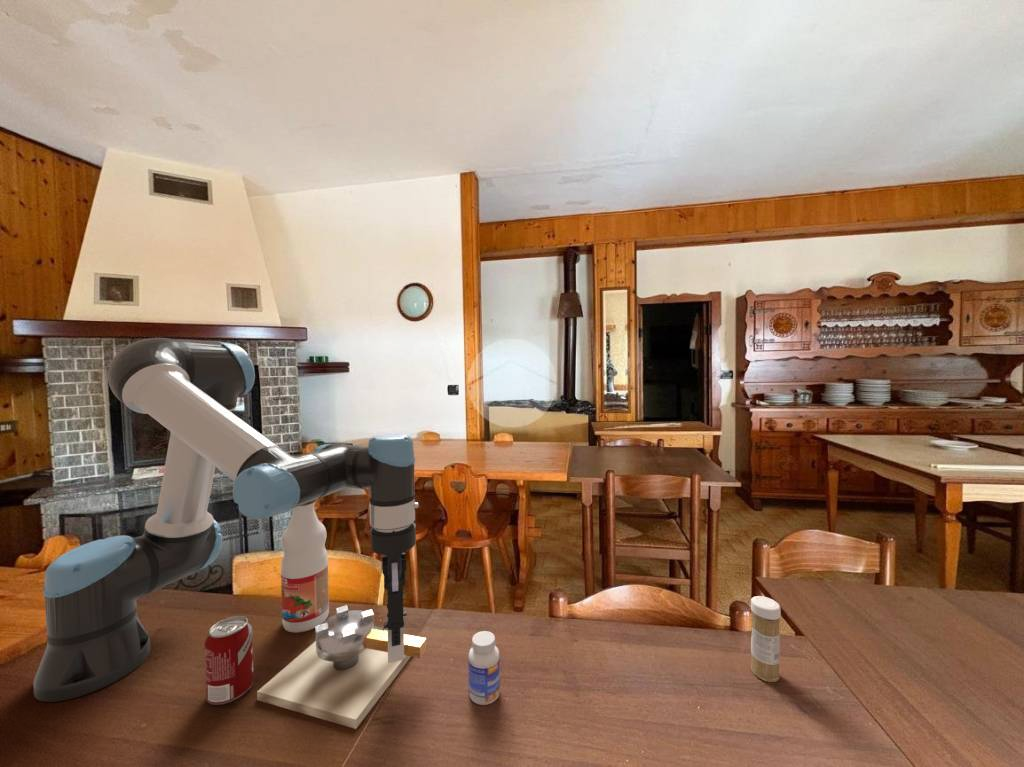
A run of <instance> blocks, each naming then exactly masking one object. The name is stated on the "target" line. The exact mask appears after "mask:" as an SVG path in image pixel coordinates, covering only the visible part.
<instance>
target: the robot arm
mask: <svg viewBox="0 0 1024 767" xmlns="http://www.w3.org/2000/svg"><path fill="white" fill-rule="evenodd" d="M255 373H256V372H255V366H254V363H253V360H251V358H250V355H249V354H248V353H247V352H246V350H245V349H244V348H242V347H240V346H239V345H238V344H235V343H230V342H224V341H223V342H222V341H218V340H202V339H201V340H199V339H197V340H196V339H182V338H179V339H177V338H170V337H169V338H168V337H167V338H166V337H151V338H144V339H140V340H136V341H134V342H131V343H130V344H128V345H125V347H123V348H122V349H121V350H119V351H118V352H117V353H116V354H115V355H114V356H113V358H112V359H111V361H110V363H109V365H108V371H107V382H108V386H109V387H110V391H112V393H113V395H114V396H115V397H116V399H118V400H119V401H120V402H121V403H122V404H123V405H124V406H125V407H127V408H128V409H129V410H131V411H133V412H136V413H138V414H143V415H144V414H145V415H147V414H148V415H149V416H150V417H151V418H153V419H154V420H155V421H157V422H158V423H159V424H160V425H162V426H163V427H164V428H166V430H168V431H169V432H170V435H169V442H168V447H167V452H166V458H165V463H164V470H163V475H162V481H161V485H160V490H159V491H160V492H159V498H158V502H157V509H156V513H155V514H152V515H151V516H150V517H149V518H147V520H146V521H145V523H144V529H143V534H142V535H141V536H138V537H135V538H133V537H132V536H130V535H113V536H108V537H106V538H104V539H101V538H99V539H96V540H93V541H90V542H87V543H84V544H82V545H79V546H77V547H75V548H72V549H70V550H67V552H65V553H62V554H61V555H59V556H58V557H56V558H55V559H54V560H53V561H52V562H51V563H50V564H48V566H47V568H46V570H45V572H44V586H43V590H42V594H43V596H44V605H45V607H44V608H45V625H46V644H47V645H46V648H45V650H44V653H43V656H42V657H41V658H42V659H41V661H40V664H39V666H38V668H37V671H36V673H35V676H34V678H33V683H32V685H33V696H34V699H36V700H37V701H39V702H43V703H44V702H46V703H53V702H54V703H56V702H64V701H68V700H71V699H76V698H79V697H82V696H85V695H88V694H91V693H93V692H96V691H98V690H101V689H102V688H105V687H107V686H109V685H111V684H114V683H115V682H117V681H119V680H120V679H123V678H124V677H126V676H127V675H129V674H130V673H132V672H133V671H135V670H136V669H137V668H139V666H140V665H142V664H143V663H144V662H145V661H146V659H147V658H148V657H149V655H150V653H151V639H150V636H149V635H148V632H147V631H146V629H145V627H144V625H143V623H142V622H141V620H140V619H139V616H138V612H137V611H138V610H137V607H138V606H137V600H138V599H139V598H141V597H144V596H146V595H149V594H150V593H153V592H155V591H157V590H160V589H161V588H164V587H166V586H168V585H170V584H173V583H175V582H177V581H180V580H182V579H184V578H187V577H190V576H192V575H193V576H194V574H196V573H198V572H199V571H201V570H203V569H205V568H207V567H209V566H210V565H211V564H212V563H213V562H215V560H216V558H218V555H219V554H220V552H221V548H222V545H223V534H222V533H221V530H222V529H221V527H220V524H219V523H218V521H216V519H214V516H213V515H212V514H211V513H210V512H209V511H208V508H209V503H210V497H211V492H212V486H213V483H214V476H215V471H216V469H218V471H219V472H221V473H222V474H224V475H225V476H226V477H227V478H229V479H230V480H232V482H234V483H233V487H232V497H233V498H232V499H233V501H234V502H233V503H235V504H237V505H238V511H239V513H241V514H242V515H243V516H244V517H246V518H247V519H250V520H264V519H268V518H271V517H274V516H277V515H280V514H285V513H287V512H289V511H291V510H293V508H295V507H298V506H300V505H303V504H305V503H308V502H310V501H312V500H315V499H316V500H318V499H320V498H321V499H322V498H323V497H326V496H328V495H331V494H333V493H336V492H338V491H341V490H343V489H360V490H369V503H368V504H369V525H370V527H371V528H370V549H371V552H373V553H375V554H376V555H378V556H379V555H381V556H382V557H381V560H382V562H381V564H382V565H381V568H382V570H381V571H382V573H381V574H383V587H384V590H386V592H387V593H386V595H387V604H386V609H387V614H386V617H387V621H384V622H383V628H384V629H386V630H387V636H388V663H392V662H396V661H400V660H404V634H405V633H404V632H405V629H404V628H405V619H404V617H406V616H407V610H406V609H404V587H405V586H406V570H407V559H406V552H408V551H410V550H412V548H414V546H416V542H417V534H416V531H417V529H416V528H417V527H416V526H417V525H416V523H415V522H414V521H416V510H415V509H418V508H419V507H420V505H419V503H418V502H416V500H415V499H416V498H415V497H416V496H415V495H416V493H415V463H416V458H415V453H414V452H415V451H414V450H415V449H414V440H413V438H412V437H411V436H410V435H408V434H406V433H405V434H404V433H386V434H384V433H383V434H378V435H375V436H372V437H371V438H369V440H368V445H357V444H356V445H355V444H353V445H352V444H344V443H343V444H341V443H340V442H338V443H332V444H331V443H330V444H329V443H328V444H326V443H325V444H321V445H319V446H317V447H316V448H315V449H314V450H312V452H310V453H304V454H301V455H295V456H293V455H292V454H290V453H288V452H287V451H285V450H284V449H283V448H281V447H280V446H278V445H277V444H276V443H274V442H273V441H271V439H269V438H268V437H266V436H265V435H263V434H262V433H260V432H259V431H258V430H257V429H255V428H254V427H252V426H251V425H249V424H248V423H247V422H246V421H244V420H243V419H242V418H240V417H239V416H237V415H236V414H234V413H233V412H232V411H233V410H235V409H236V407H237V402H238V397H241V396H244V395H247V394H248V393H249V392H250V391H251V390H252V389H253V386H254V384H255V379H256V374H255Z"/></svg>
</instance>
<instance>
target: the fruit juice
mask: <svg viewBox="0 0 1024 767" xmlns="http://www.w3.org/2000/svg"><path fill="white" fill-rule="evenodd" d="M316 500H317V499H315V500H312V501H310V502H308V503H305V504H303V505H300V506H298V507H295V508H293V509H292V512H291V517H290V520H289V523H288V525H287V527H286V528H285V529H284V530H283V532H282V534H281V538H280V545H281V549H282V552H283V556H282V557H281V562H280V580H281V582H280V583H281V585H280V586H281V619H282V620H281V622H282V626H283V628H284V631H287V632H290V633H304V632H308V631H311V630H313V629H315V626H317V625H321V624H322V623H323V622H324V621H325V620H327V619H328V618H329V617H328V616H329V612H330V599H329V598H330V595H329V592H330V590H329V589H330V588H329V556H328V551H327V549H326V546H325V544H326V540H327V537H328V536H327V529H326V527H325V525H324V524H323V523H322V521H320V519H319V518H318V515H317V512H316V510H315V505H316Z"/></svg>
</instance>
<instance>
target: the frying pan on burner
mask: <svg viewBox="0 0 1024 767" xmlns="http://www.w3.org/2000/svg"><path fill="white" fill-rule="evenodd" d="M374 623H375V613H374V611H373V609H372V608H371V609H367V610H362V609H361V610H360V609H358V610H353V609H352V610H349V608H348V604H346V605H341V606H339V607H336V608H335V614H333V615H331V616H330V617H327V619H326V620H325V621H324V622H323V623H322V624H320V625H317V626H315V628H314V633H315V641H316V653H317V655H318V657H319V658H321V659H323V660H325V661H332V662H335V661H343V660H347V659H350V658H352V657H355V656H357V655H359V654H360V653H362V652H363V651H365V650H366V649H373V650H378V651H384V652H388V636H387V631H382V630H376V629H374V626H375V625H374ZM405 634H406V633H404V655H405V656H410V658H411V657H412V658H417V659H421V658H422V657H423V655H424V653H425V652H426V650H427V638H426V637H423V636H422V637H421V636H418V637H417V635H413V636H411V635H412V634H408V635H405Z"/></svg>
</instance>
